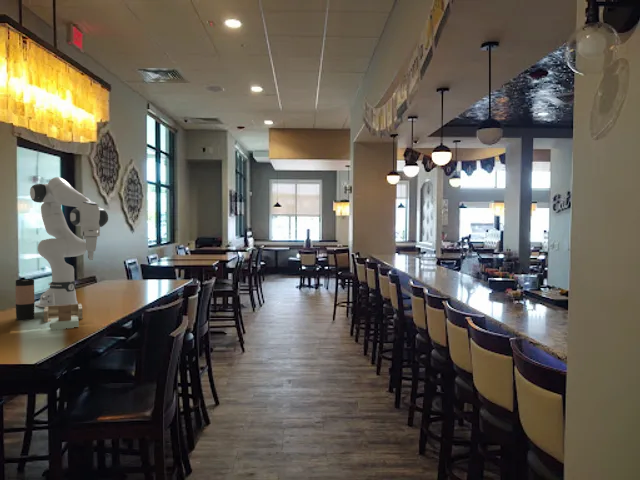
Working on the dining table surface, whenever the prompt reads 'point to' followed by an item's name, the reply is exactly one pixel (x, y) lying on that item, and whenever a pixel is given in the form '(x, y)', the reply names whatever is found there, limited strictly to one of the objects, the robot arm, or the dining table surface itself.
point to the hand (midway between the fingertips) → (90, 259)
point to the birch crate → (52, 312)
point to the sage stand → (64, 323)
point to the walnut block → (64, 312)
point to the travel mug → (25, 299)
